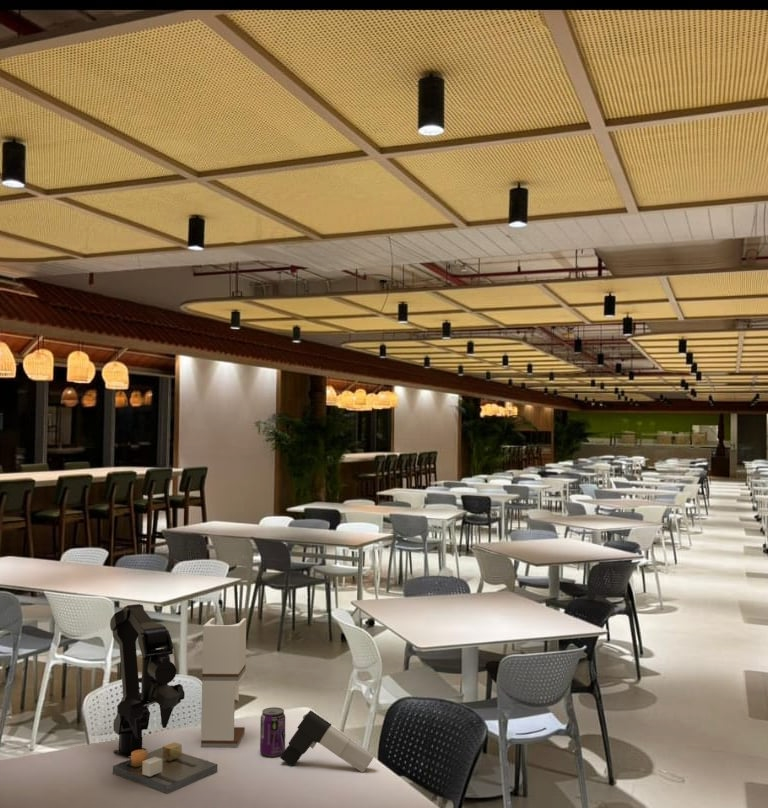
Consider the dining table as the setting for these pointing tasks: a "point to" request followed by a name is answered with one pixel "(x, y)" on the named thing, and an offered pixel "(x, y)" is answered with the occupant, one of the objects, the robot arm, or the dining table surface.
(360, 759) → the handheld device
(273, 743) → the beverage can
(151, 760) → the beige block
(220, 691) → the beige tower stand
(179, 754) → the tan block
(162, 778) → the plate
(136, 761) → the orange push button
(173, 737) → the dining table surface
